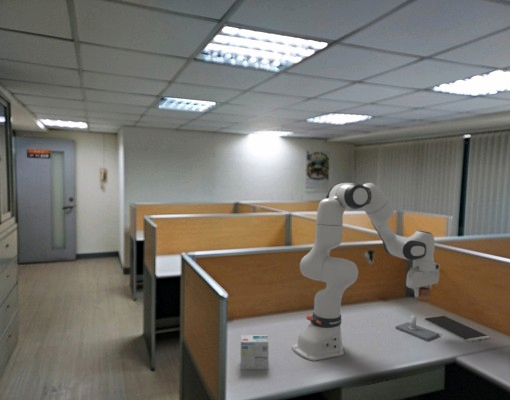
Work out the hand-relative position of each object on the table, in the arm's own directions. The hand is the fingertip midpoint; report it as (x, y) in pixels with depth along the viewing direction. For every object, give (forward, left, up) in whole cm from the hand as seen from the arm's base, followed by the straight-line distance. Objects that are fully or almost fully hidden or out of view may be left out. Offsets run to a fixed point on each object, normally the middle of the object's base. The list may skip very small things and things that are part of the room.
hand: (422, 295), depth 164 cm
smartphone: (+21, -4, -20) cm, 29 cm away
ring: (0, 0, -2) cm, 2 cm away
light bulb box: (-81, +18, -19) cm, 85 cm away
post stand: (+1, +3, -19) cm, 19 cm away
